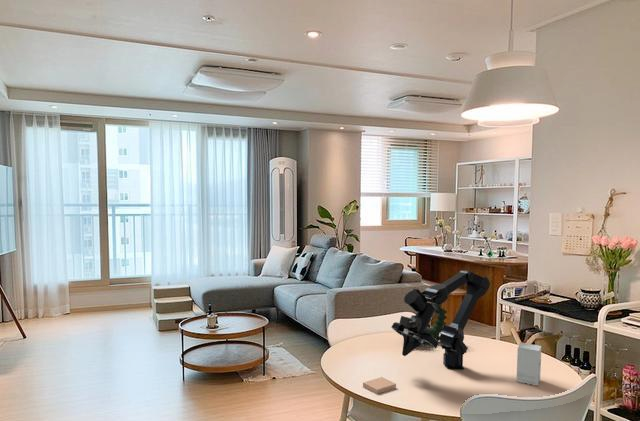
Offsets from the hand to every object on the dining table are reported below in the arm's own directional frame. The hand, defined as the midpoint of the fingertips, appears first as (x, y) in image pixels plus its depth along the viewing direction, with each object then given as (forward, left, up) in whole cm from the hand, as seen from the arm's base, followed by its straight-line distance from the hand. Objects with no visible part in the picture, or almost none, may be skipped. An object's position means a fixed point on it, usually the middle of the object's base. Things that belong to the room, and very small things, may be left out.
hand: (403, 355), depth 165 cm
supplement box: (-46, +1, -9) cm, 47 cm away
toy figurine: (-18, -43, -9) cm, 48 cm away
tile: (+6, +5, -8) cm, 11 cm away
